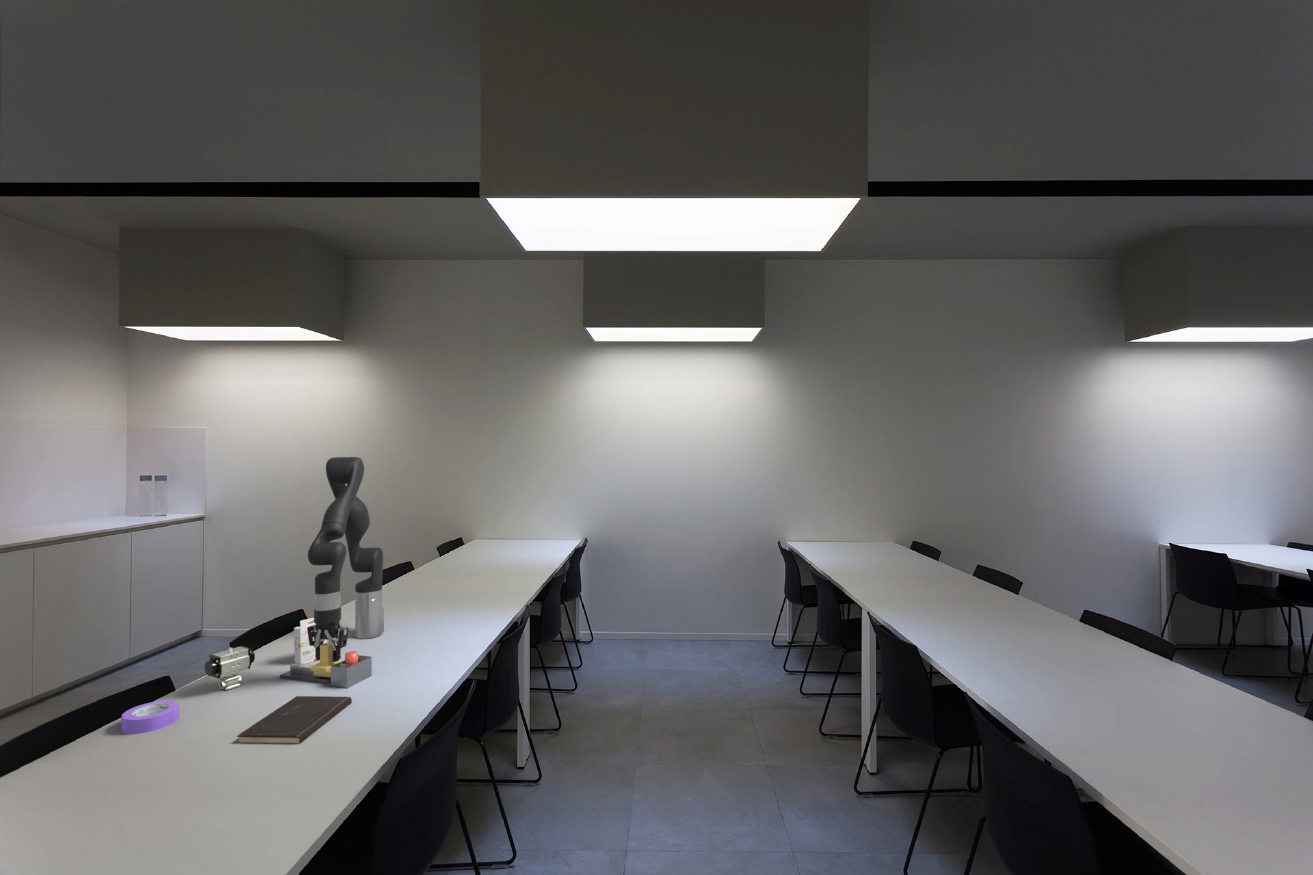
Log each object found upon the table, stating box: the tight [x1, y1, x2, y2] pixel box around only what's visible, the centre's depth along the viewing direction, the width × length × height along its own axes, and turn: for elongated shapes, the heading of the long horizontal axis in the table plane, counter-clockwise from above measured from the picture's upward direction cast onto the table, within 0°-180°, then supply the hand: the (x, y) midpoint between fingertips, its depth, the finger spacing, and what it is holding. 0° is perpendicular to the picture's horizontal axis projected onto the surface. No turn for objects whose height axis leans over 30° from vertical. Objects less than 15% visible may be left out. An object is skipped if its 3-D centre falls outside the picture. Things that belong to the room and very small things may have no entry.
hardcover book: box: [236, 695, 353, 745], centre depth 160 cm, size 16×23×2 cm
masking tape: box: [121, 699, 180, 735], centre depth 159 cm, size 12×12×4 cm
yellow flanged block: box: [311, 641, 344, 677], centre depth 189 cm, size 7×6×9 cm
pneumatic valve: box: [204, 645, 256, 691], centre depth 182 cm, size 6×12×12 cm, turn 152°
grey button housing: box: [330, 654, 373, 689], centre depth 187 cm, size 10×6×6 cm, turn 164°
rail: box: [279, 662, 331, 685], centre depth 191 cm, size 8×19×3 cm, turn 74°
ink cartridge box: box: [293, 617, 328, 664], centre depth 205 cm, size 9×5×15 cm, turn 143°
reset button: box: [344, 650, 359, 664], centre depth 187 cm, size 4×4×5 cm
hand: (327, 660), depth 189 cm, fingers open, 5 cm apart
